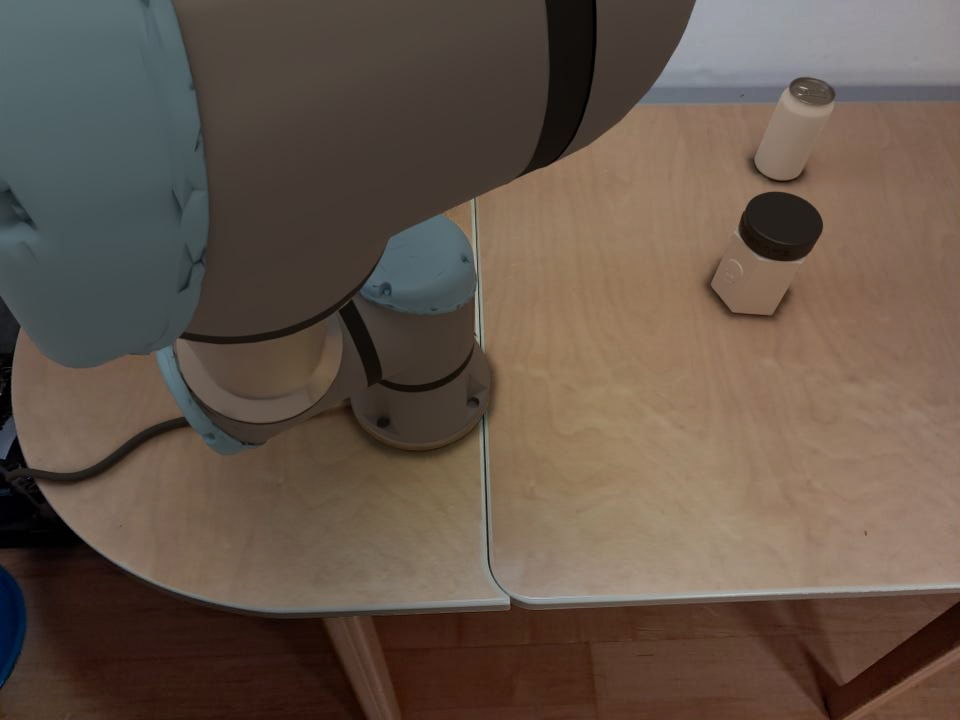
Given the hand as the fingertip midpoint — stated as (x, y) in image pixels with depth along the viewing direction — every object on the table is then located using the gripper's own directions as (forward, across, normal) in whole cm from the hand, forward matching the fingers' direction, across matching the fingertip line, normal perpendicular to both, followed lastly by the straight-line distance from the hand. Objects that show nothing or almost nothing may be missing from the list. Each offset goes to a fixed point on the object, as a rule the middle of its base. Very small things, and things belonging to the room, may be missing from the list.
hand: (156, 166), depth 72 cm
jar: (+16, -19, -63) cm, 68 cm away
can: (+16, 0, -77) cm, 79 cm away
